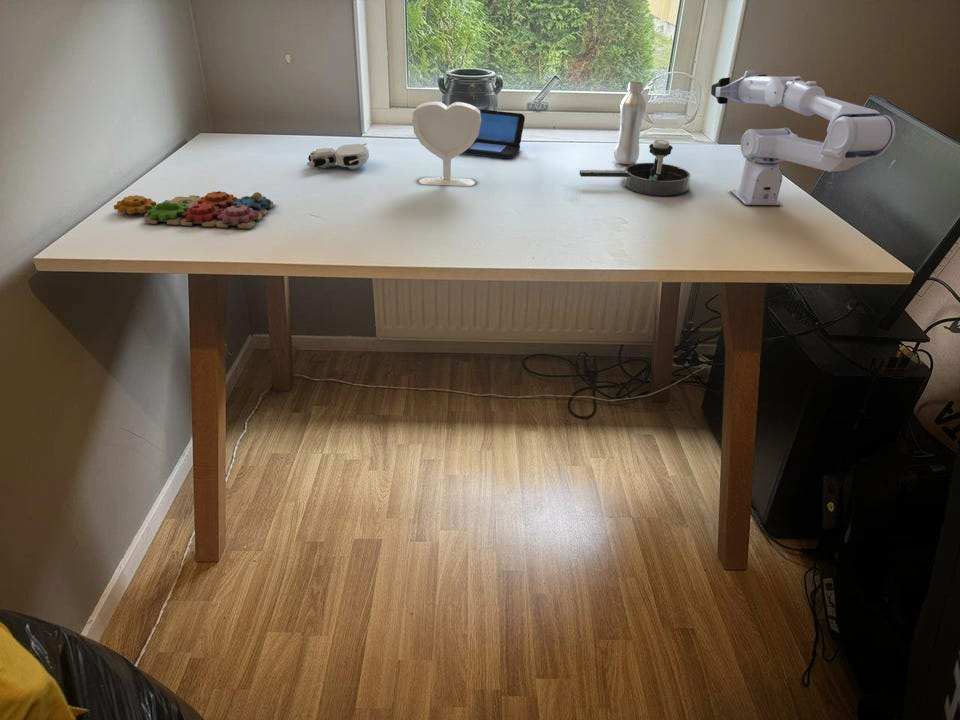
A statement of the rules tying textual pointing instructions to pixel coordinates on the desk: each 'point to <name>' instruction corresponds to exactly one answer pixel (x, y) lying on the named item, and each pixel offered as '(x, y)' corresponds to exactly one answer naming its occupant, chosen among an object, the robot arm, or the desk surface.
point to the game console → (498, 134)
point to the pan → (671, 184)
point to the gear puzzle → (200, 209)
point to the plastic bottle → (630, 124)
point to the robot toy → (340, 156)
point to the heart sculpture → (446, 134)
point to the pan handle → (603, 173)
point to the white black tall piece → (659, 158)
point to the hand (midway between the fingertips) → (727, 88)
